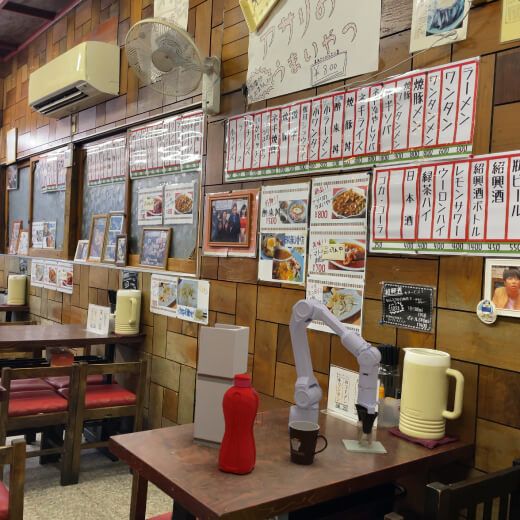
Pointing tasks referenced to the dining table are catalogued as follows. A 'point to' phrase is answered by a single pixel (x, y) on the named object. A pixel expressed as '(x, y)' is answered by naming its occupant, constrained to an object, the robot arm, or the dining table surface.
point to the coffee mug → (304, 442)
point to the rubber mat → (363, 446)
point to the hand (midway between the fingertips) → (364, 430)
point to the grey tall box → (217, 378)
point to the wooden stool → (360, 433)
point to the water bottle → (239, 426)
